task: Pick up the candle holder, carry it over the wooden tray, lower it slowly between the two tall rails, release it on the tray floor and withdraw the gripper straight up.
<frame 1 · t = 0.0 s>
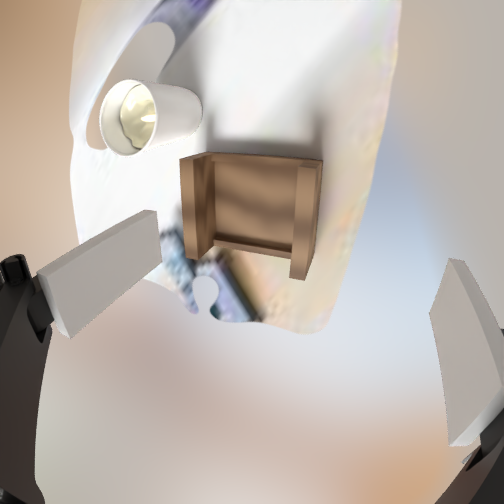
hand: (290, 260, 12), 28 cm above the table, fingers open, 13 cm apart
wooden tray: (259, 202, 42), on the table
candle holder: (179, 113, 40), on the table
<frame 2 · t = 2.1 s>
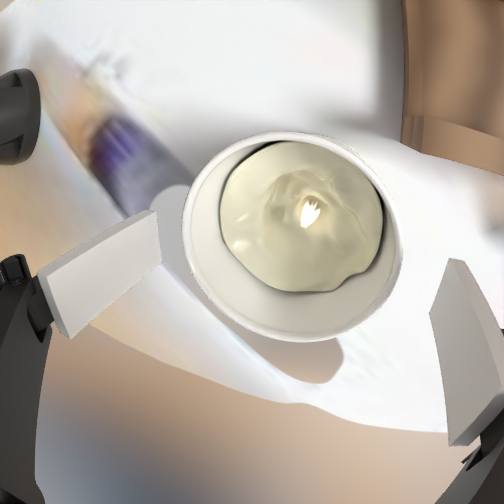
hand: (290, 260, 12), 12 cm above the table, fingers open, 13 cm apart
wooden tray: (484, 61, 13), on the table
candle holder: (318, 186, 22), on the table
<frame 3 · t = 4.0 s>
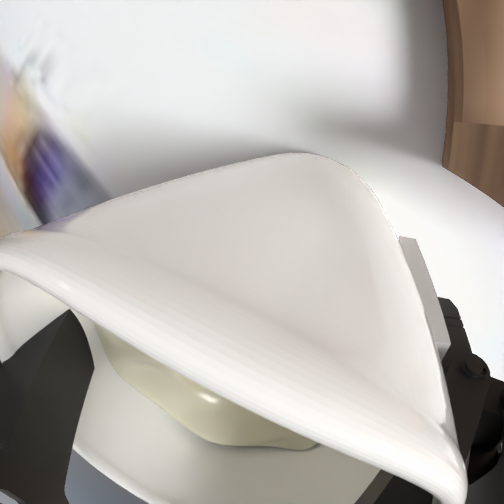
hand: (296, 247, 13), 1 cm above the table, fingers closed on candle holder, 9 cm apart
candle holder: (301, 237, 14), on the table, touching gripper
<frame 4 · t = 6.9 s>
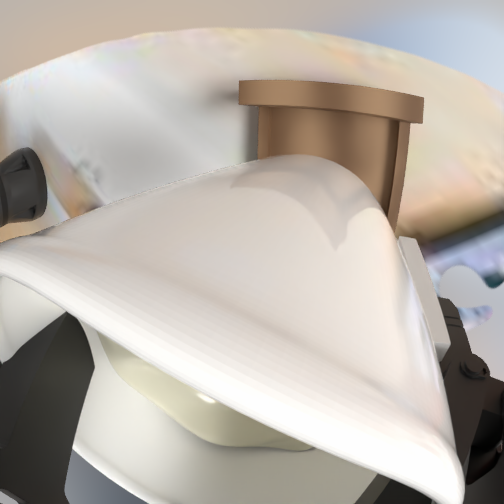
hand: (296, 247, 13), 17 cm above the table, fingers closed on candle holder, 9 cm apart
wooden tray: (330, 176, 28), on the table
candle holder: (301, 238, 14), point 16 cm above the table, touching gripper
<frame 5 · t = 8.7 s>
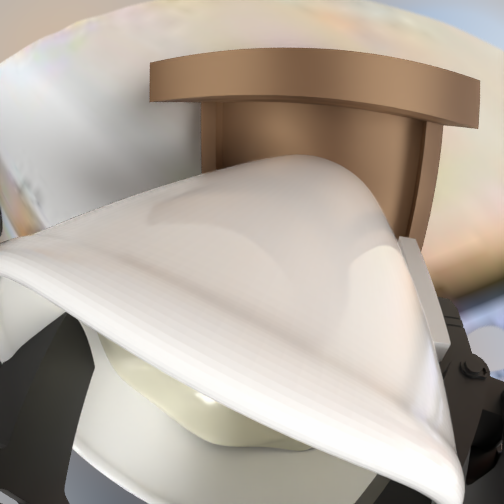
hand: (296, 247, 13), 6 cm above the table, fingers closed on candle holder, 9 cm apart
wooden tray: (315, 206, 18), on the table
candle holder: (301, 238, 14), point 5 cm above the table, touching gripper
when the fingers open (4 cm above the table, at t = 10.1 s): candle holder drops 2 cm, resting on wooden tray.
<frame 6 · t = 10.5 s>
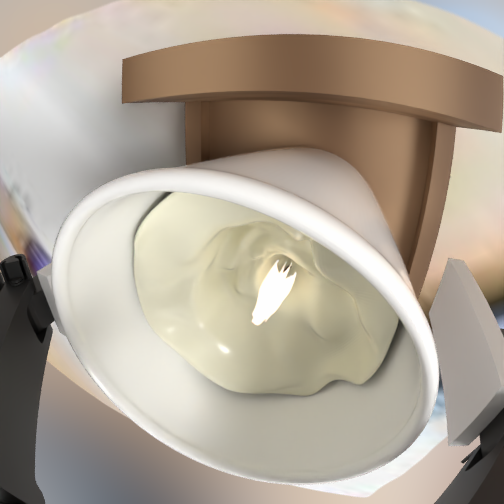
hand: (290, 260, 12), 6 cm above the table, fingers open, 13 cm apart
wooden tray: (311, 216, 17), on the table
candle holder: (305, 219, 16), point 1 cm above the table, touching wooden tray
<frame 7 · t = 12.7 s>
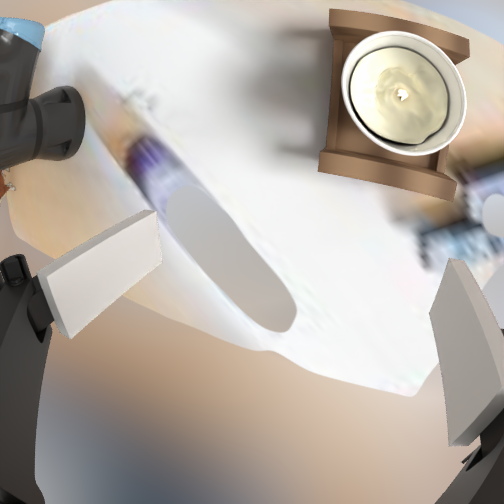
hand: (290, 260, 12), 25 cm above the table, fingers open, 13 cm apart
wooden tray: (391, 103, 27), on the table
candle holder: (390, 102, 26), point 1 cm above the table, touching wooden tray
bull figurine: (12, 179, 60), on the table
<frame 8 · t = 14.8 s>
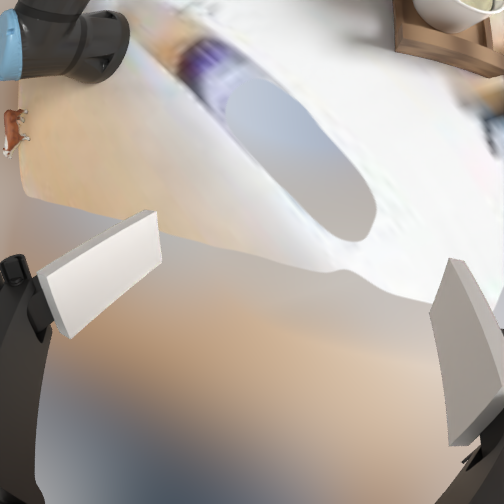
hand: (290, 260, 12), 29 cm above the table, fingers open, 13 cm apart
wooden tray: (441, 10, 21), on the table
candle holder: (440, 8, 20), point 1 cm above the table, touching wooden tray
bull figurine: (27, 129, 54), on the table
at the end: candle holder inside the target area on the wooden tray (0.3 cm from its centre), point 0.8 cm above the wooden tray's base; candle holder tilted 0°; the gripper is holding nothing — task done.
